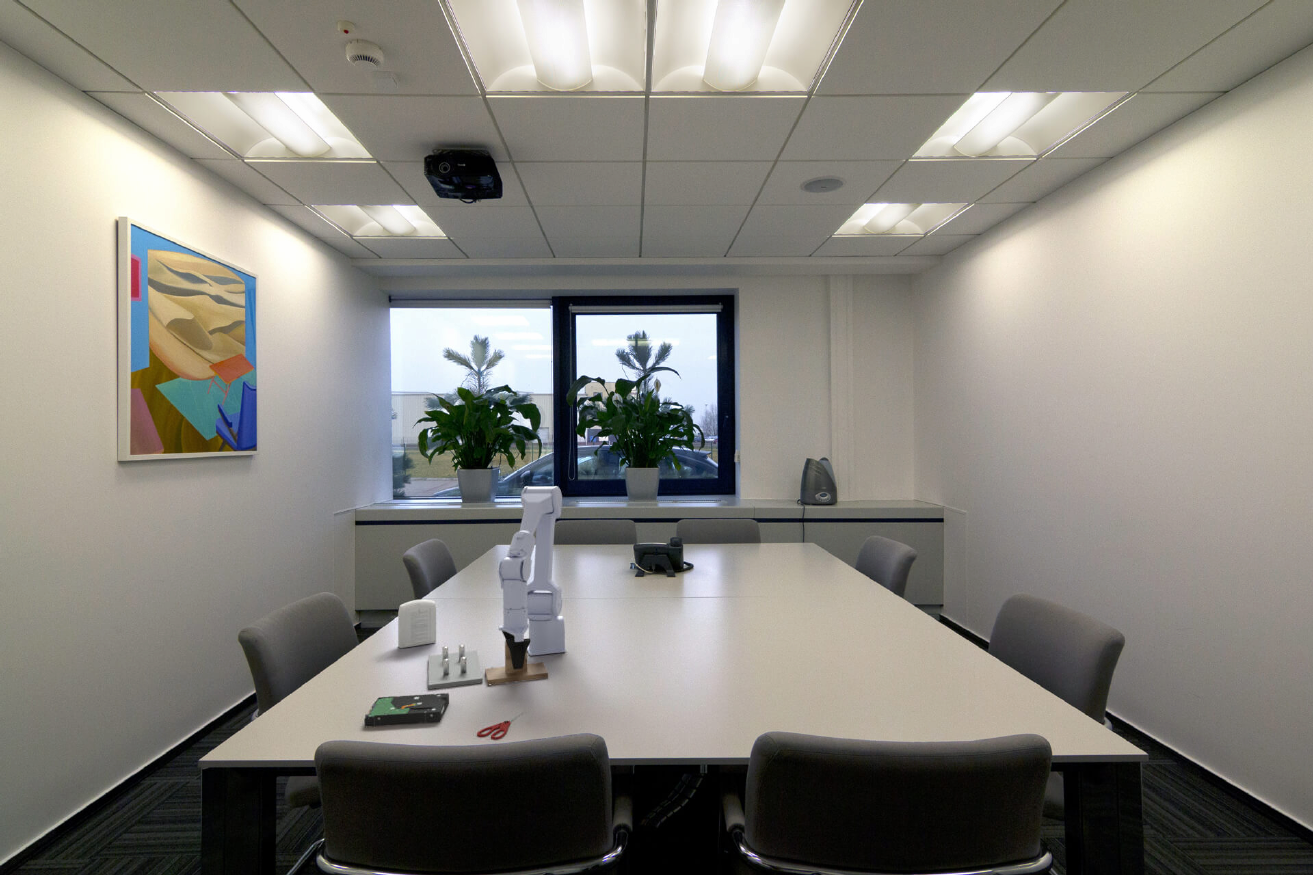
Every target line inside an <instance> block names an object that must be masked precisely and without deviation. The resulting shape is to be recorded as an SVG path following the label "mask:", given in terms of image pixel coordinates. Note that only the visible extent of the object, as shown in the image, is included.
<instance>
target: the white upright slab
mask: <svg viewBox="0 0 1313 875" xmlns="http://www.w3.org/2000/svg"><path fill="white" fill-rule="evenodd" d="M398 608H399V609H398V615H397V617H398V618H397V619H398V620H397V622H398V624H397V626H398V627H397V634H398V637H397V644H398V645H397V646H398V648H400V649H405V648H410V647H415V646H423V645H428V644H429V645H430V644H435V643H436V642H437V606H436V601H434V600H432V599H431V600H430V599H415V600H410V601H407V602H404V603H402V604H400V605H399V607H398Z"/></svg>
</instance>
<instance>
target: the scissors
mask: <svg viewBox="0 0 1313 875" xmlns="http://www.w3.org/2000/svg"><path fill="white" fill-rule="evenodd" d="M526 712H527V709H524V710H522V711H521V712H519V713H518V714H516V715H515V716H513V717H511V718H510V719H508V720H504V721H502V722H499V723H496V724H493V725H489V726H487V727H485V728H482V729H480V730H479V731H477V733H476V737H477V738H484V737H488V736H490V739H491V740H495V741H497V740H500V739H503V737H505V735H507V732H508V730H509V727H510V725H511V723H513V722H514V721H515V720H516V719H518V718H519V717H520V716H522V715H523V714H525V713H526ZM486 731H487V732H486ZM485 732H486V733H485ZM501 732H502V733H501ZM500 733H501V735H499V734H500ZM496 735H499V736H496Z"/></svg>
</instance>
